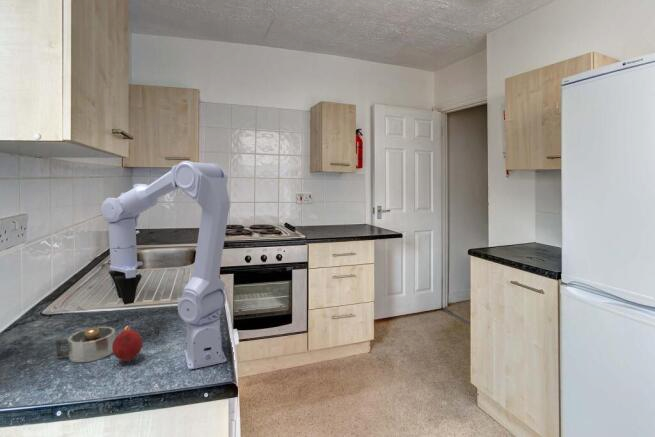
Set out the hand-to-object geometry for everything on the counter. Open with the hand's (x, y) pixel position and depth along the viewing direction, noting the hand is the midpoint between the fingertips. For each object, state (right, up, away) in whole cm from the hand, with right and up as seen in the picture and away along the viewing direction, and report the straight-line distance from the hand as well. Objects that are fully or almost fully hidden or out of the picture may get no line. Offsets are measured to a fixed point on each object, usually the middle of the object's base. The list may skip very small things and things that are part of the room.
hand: (126, 300), depth 88 cm
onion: (+6, -12, -9) cm, 16 cm away
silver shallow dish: (-5, -11, -6) cm, 14 cm away
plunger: (-4, -10, -6) cm, 12 cm away
